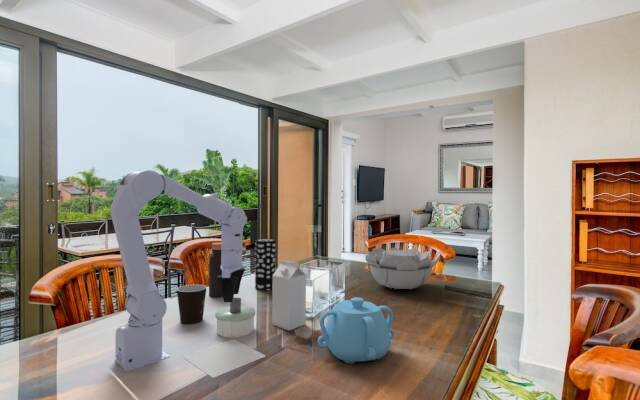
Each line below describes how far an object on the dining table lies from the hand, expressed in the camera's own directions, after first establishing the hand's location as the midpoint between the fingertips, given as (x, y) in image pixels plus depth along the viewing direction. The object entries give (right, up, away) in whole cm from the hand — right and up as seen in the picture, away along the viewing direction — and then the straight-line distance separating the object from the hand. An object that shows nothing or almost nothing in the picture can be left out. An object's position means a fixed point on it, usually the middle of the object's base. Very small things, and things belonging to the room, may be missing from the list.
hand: (231, 297), depth 99 cm
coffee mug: (-14, -10, +11) cm, 20 cm away
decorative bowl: (+58, -10, +50) cm, 77 cm away
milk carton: (+16, -10, +6) cm, 20 cm away
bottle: (-14, -9, +37) cm, 41 cm away
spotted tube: (+2, -9, +47) cm, 48 cm away
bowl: (+1, -10, +1) cm, 10 cm away
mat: (+2, -10, -16) cm, 19 cm away
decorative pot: (+34, -11, -12) cm, 38 cm away
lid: (+1, -5, +1) cm, 5 cm away
